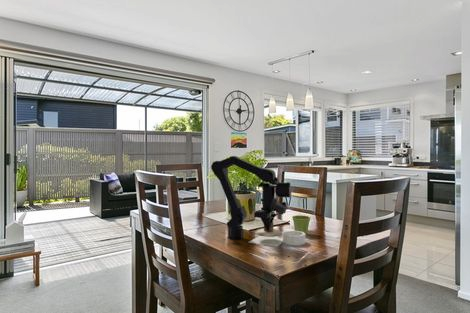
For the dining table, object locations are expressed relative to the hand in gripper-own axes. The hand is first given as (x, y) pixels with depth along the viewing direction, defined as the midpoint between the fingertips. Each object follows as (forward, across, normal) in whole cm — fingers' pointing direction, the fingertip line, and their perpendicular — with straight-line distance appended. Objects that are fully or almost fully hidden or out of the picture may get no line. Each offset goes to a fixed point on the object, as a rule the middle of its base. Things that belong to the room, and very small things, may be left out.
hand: (268, 230), depth 142 cm
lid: (+2, 0, 0) cm, 2 cm away
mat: (+6, 0, 0) cm, 6 cm away
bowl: (+6, +4, -11) cm, 13 cm away
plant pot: (+6, +21, -9) cm, 24 cm away
